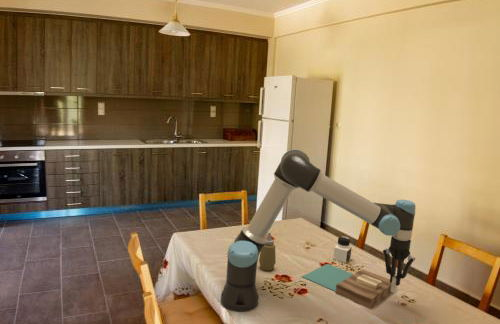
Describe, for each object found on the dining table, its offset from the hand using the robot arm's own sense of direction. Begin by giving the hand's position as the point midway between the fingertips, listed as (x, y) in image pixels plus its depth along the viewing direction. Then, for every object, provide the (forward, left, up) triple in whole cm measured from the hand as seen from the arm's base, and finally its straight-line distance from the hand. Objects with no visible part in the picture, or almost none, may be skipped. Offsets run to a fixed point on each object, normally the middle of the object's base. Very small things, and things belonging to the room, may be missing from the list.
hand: (393, 291), depth 162 cm
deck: (0, +12, -5) cm, 13 cm away
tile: (0, +11, -1) cm, 11 cm away
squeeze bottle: (-17, +55, -5) cm, 58 cm away
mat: (0, +30, -5) cm, 30 cm away
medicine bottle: (+23, +37, -5) cm, 44 cm away
